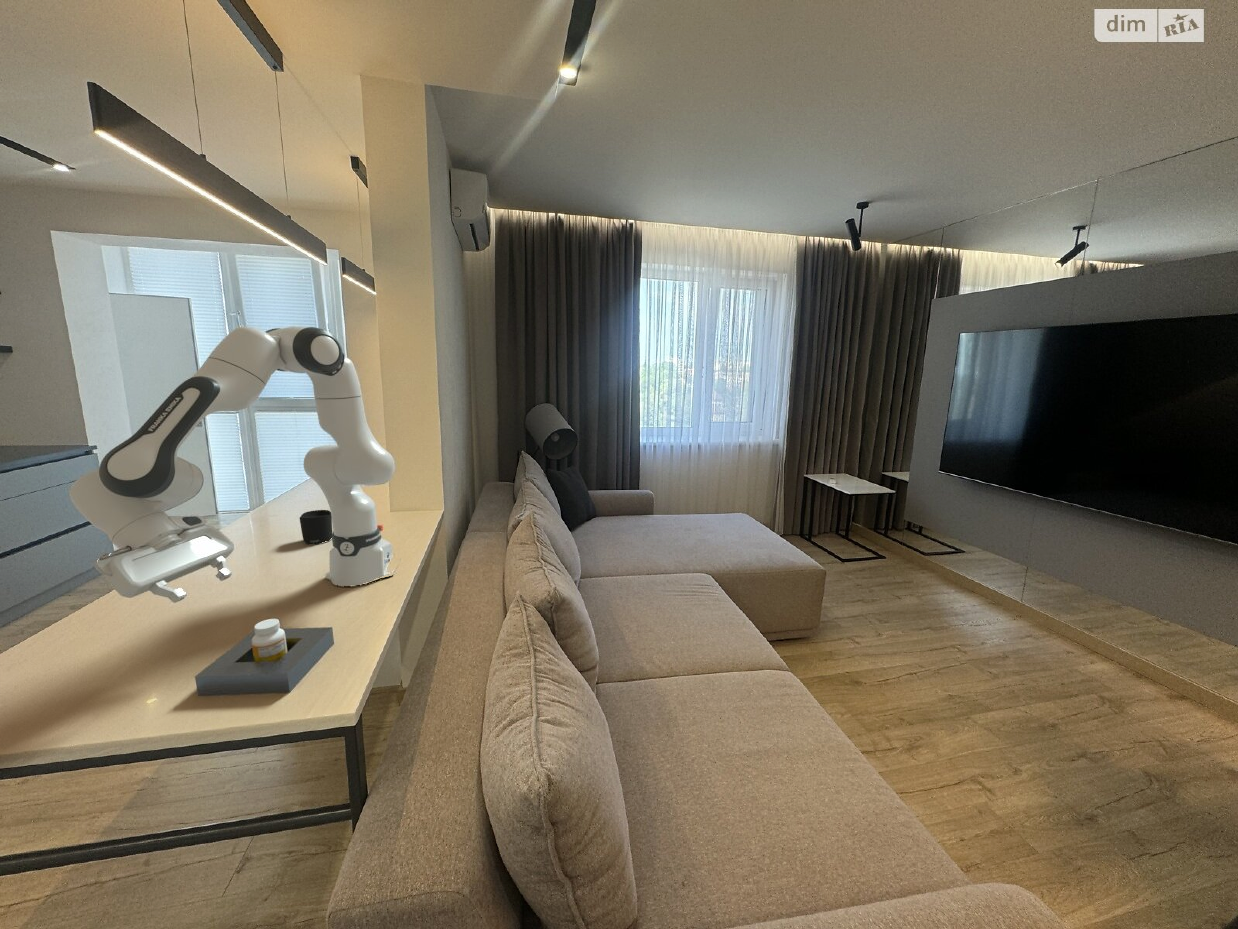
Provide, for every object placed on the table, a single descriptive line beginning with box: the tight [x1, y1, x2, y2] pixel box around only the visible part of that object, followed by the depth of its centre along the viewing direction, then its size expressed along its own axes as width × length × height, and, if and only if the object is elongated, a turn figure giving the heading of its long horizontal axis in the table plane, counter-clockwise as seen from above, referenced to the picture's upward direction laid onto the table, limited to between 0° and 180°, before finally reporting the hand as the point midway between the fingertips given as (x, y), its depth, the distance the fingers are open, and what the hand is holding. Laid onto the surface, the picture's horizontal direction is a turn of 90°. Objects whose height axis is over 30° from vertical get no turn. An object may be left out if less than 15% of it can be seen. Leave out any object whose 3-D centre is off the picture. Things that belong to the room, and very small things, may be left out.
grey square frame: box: [194, 626, 335, 697], centre depth 93 cm, size 16×16×4 cm
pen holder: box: [299, 509, 333, 545], centre depth 162 cm, size 9×9×10 cm
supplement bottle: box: [252, 618, 287, 662], centre depth 92 cm, size 5×5×10 cm
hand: (205, 588), depth 91 cm, fingers open, 8 cm apart
